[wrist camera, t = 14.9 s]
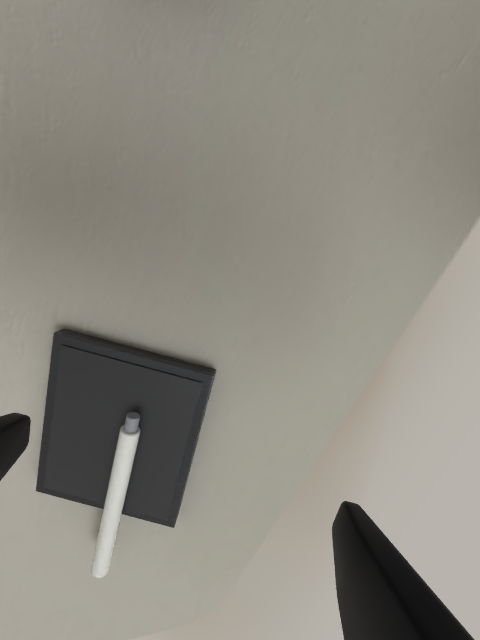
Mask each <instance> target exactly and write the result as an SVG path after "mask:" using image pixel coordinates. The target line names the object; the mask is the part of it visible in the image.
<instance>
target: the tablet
mask: <svg viewBox="0 0 480 640" xmlns="http://www.w3.org/2000/svg"><path fill="white" fill-rule="evenodd" d="M215 373H216V370H214V369H211V368H207V367H203V366H200V365H196V364H192V363H189V362H185V361H181V360H177V359H174V358H170V357H166V356H163V355H159V354H155V353H152V352H148V351H144V350H140V349H137V348H133V347H129V346H126V345H122V344H118V343H115V342H111V341H107V340H103V339H100V338H96V337H92V336H89V335H85V334H81V333H78V332H74V331H70V330H66V329H62V330H60V331H57V332H55V333H54V336H53V345H52V354H51V363H50V372H49V380H48V389H47V398H46V407H45V416H44V425H43V433H42V442H41V451H40V460H39V469H38V477H37V486H36V491H38V492H41V493H45V494H49V495H53V496H56V497H60V498H64V499H68V500H71V501H75V502H79V503H83V504H86V505H90V506H94V507H98V508H101V509H104V505H105V500H106V495H107V490H108V486H109V481H110V476H111V471H112V466H113V461H114V457H115V452H116V447H117V442H118V437H119V433H120V428H121V427H122V426H123V425H125V421H126V416H127V414H128V413H129V412H137V413H138V414H139V415H140V420H139V424H138V427H139V428H140V435H139V439H138V444H137V448H136V452H135V457H134V461H133V466H132V470H131V474H130V479H129V483H128V488H127V492H126V496H125V501H124V505H123V509H122V514H124V515H128V516H131V517H135V518H139V519H143V520H146V521H150V522H154V523H158V524H161V525H165V526H169V527H173V528H174V527H175V523H176V520H177V516H178V513H179V509H180V505H181V501H182V498H183V494H184V490H185V486H186V482H187V479H188V475H189V471H190V467H191V463H192V460H193V456H194V452H195V448H196V445H197V441H198V437H199V433H200V429H201V426H202V422H203V418H204V414H205V410H206V407H207V403H208V399H209V395H210V392H211V388H212V384H213V380H214V376H215Z"/></svg>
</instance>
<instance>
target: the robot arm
mask: <svg viewBox="0 0 480 640" xmlns="http://www.w3.org/2000/svg"><path fill="white" fill-rule="evenodd" d="M30 422H31V421H30V417H29V416H27V415H23V414H19V413H11V414H8V415H4V416H1V417H0V481H1V479H2V478H3V477H4V476H5V474H6V473H7V472H8V471H9V469H10V468H11V467H12V465H13V464H14V463H15V462H16V460H17V459H18V458H19V457H20V455H21V454H22V453H23V452H24V450H25V449H26V447H27V445H28V442H29V434H30ZM332 538H333V551H334V564H335V577H336V589H337V598H338V604H339V611H340V617H341V623H342V628H343V635H344V640H474V639H473V638H472V636H471V635H470V634H469V633H468V632H467V631H466V629H465V628H464V627H463V626H462V625H461V624H460V622H459V621H458V620H457V619H456V618H455V617H454V616H453V614H452V613H451V612H450V611H449V610H448V608H447V607H446V606H445V605H444V604H443V602H442V601H441V600H440V599H439V598H438V597H437V595H436V594H435V593H434V592H433V591H432V590H431V589H430V587H429V586H428V585H427V584H426V583H425V581H424V580H423V579H422V578H421V577H420V576H419V574H418V573H417V572H416V571H415V570H414V569H413V568H412V566H411V565H410V564H409V563H408V562H407V560H406V559H405V558H404V557H403V556H402V555H401V553H399V551H398V550H397V549H396V548H395V547H394V545H393V544H392V543H391V542H390V541H389V539H388V538H387V537H386V536H385V535H384V534H383V532H382V531H381V530H380V529H379V528H378V527H377V525H376V524H375V523H374V522H373V521H372V520H371V518H370V517H369V516H368V515H367V514H366V513H365V511H364V510H363V509H362V508H361V507H360V506H359V505H358V504H355V503H352V502H347V501H344V502H343V503H342V504H341V506H340V508H339V510H338V513H337V515H336V518H335V520H334V522H333V526H332Z"/></svg>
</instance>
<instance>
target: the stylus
mask: <svg viewBox="0 0 480 640" xmlns="http://www.w3.org/2000/svg"><path fill="white" fill-rule="evenodd" d="M139 420H140V415H139V414H138V413H137V412H129V413H128V414H127V416H126V421H125V425H123V426H122V427H121V428H120V433H119V437H118V442H117V447H116V452H115V457H114V461H113V466H112V471H111V476H110V481H109V486H108V490H107V495H106V500H105V505H104V510H103V514H102V519H101V524H100V529H99V534H98V539H97V543H96V548H95V553H94V558H93V563H92V567H91V574H92V575H93V576H94V577H95V578H101V577H103V576H105V575H106V574H107V573H108V571H109V567H110V562H111V558H112V553H113V549H114V545H115V540H116V536H117V531H118V527H119V523H120V518H121V514H122V509H123V505H124V501H125V496H126V492H127V488H128V483H129V479H130V474H131V470H132V466H133V461H134V457H135V452H136V448H137V444H138V439H139V435H140V428H139V427H138V424H139Z"/></svg>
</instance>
